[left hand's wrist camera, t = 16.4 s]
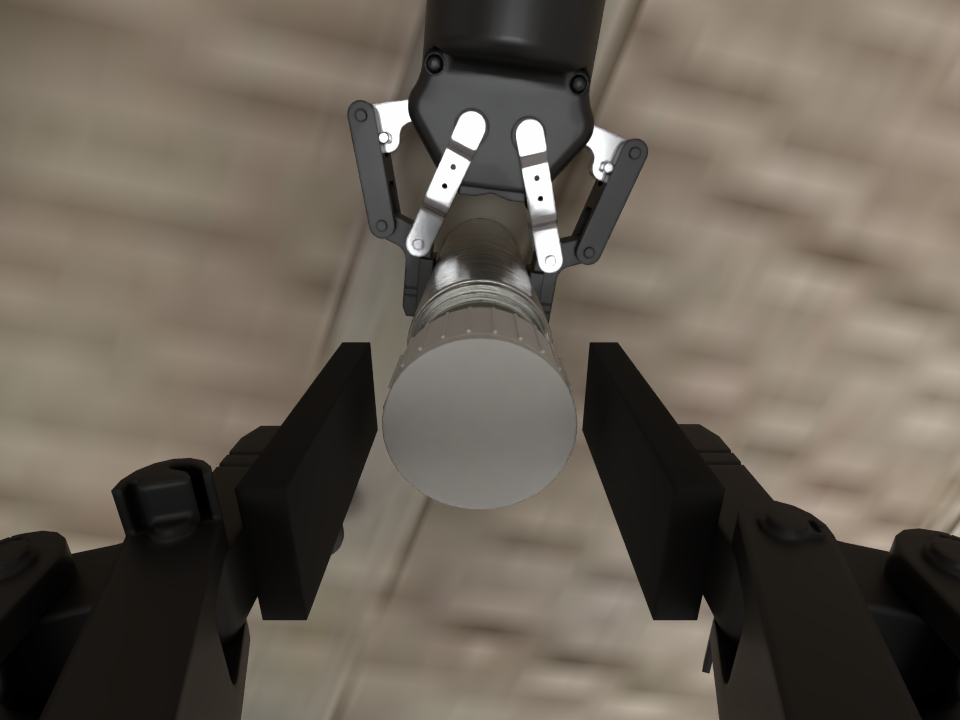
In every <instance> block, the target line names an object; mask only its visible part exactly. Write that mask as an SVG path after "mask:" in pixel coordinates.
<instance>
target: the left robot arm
mask: <svg viewBox="0 0 960 720" xmlns="http://www.w3.org/2000/svg"><path fill="white" fill-rule="evenodd" d="M377 430H378V428H377V416H376V405H375V393H374V382H373V370H372V358H371V347H370V342H342V344H341V345H340V346H339V348H338V349H337V350H336V352H335V353H334V355H333V356H332V357H331V359H330V360H329V361H328V363H327V364H326V365H325V367H324V368H323V369H322V371H321V372H320V374H319V375H318V376H317V378H316V379H315V380H314V382H313V383H312V384H311V386H310V387H309V388H308V390H307V391H306V393H305V394H304V395H303V397H302V398H301V399H300V401H299V402H298V403H297V405H296V406H295V407H294V409H293V410H292V412H291V413H290V414H289V416H288V417H287V418H286V420H285V421H284V422H283V424H282V425H281V426H260V427H258V428H257V429H255V430H254V431H252V432H250V433H249V434H247V435H245V436H244V437H242V438H241V439H240V440H239V441H238V443H237V444H236V445H235V446H234V447H233V449H232V450H231V451H230V454H229V455H227V456H226V457H225V458H224V459H223V460H222V462H221V463H220V466H219V467H216V469H215V470H214V471H213V472H212V469H211V466H210V465H208V464H207V463H206V462H205V461H203V460H198V459H192V458H182V459H171V460H167V461H162V462H158V463H154V464H152V465H149V466H147V467H144V468H142V469H139V470H137V471H135V472H133V473H132V474H130V475H128V476H127V477H125V478H124V479H122V480H121V481H120V482H119V483H118V484H117V485H116V486H115V487H114V488H113V489H112V490H111V492H112V495H113V498H114V501H115V504H116V507H117V510H118V513H119V516H120V519H121V522H122V525H123V528H124V531H125V535H126V537H125V540H124V542H123V543H120V544H117V545H112V546H107V547H103V548H98V549H93V550H88V551H83V552H79V553H74V554H71V552H70V549H69V547H68V544H67V541H66V539H65V538H64V537H63V536H62V535H60V534H59V533H57V532H49V531H37V532H31V533H24V534H19V535H15V536H12V537H11V538H9V537H8V538H5V539H3V540H0V720H241V714H242V705H243V697H244V688H245V680H246V671H247V663H248V654H249V646H250V634H249V628H248V623H247V619H246V618H247V616H248V614H249V612H250V610H251V608H252V606H253V604H254V602H255V600H256V598H257V596H258V600H259V604H260V609H261V614H262V618H263V620H307V618H308V615H309V613H310V610H311V607H312V605H313V602H314V599H315V597H316V594H317V591H318V588H319V586H320V583H321V580H322V578H323V575H324V572H325V570H326V567H327V564H328V562H329V559H330V556H331V554H332V551H333V548H334V546H335V543H336V540H337V538H338V535H339V532H340V530H341V527H342V524H343V522H344V519H345V516H346V513H347V511H348V508H349V505H350V503H351V500H352V497H353V495H354V492H355V489H356V487H357V484H358V481H359V479H360V476H361V473H362V471H363V468H364V465H365V463H366V460H367V457H368V455H369V452H370V449H371V447H372V444H373V441H374V438H375V436H376V433H377ZM582 430H583V433H584V436H585V438H586V441H587V444H588V447H589V449H590V452H591V455H592V457H593V460H594V463H595V465H596V468H597V471H598V473H599V476H600V479H601V481H602V484H603V487H604V489H605V492H606V495H607V497H608V500H609V503H610V505H611V508H612V511H613V513H614V516H615V519H616V522H617V524H618V527H619V530H620V532H621V535H622V538H623V540H624V543H625V546H626V548H627V551H628V554H629V556H630V559H631V562H632V564H633V567H634V570H635V572H636V575H637V578H638V580H639V583H640V586H641V588H642V591H643V594H644V597H645V599H646V602H647V605H648V607H649V610H650V613H651V615H652V618H653V620H697V618H698V614H699V609H700V604H701V600H702V595H703V596H704V598H705V599H706V601H707V603H708V605H709V607H710V609H711V611H712V613H713V615H714V619H713V623H712V628H711V632H710V636H709V641H708V645H707V649H706V654H705V658H704V663H703V670H702V672H706V673H710V669H711V665H712V662H713V670H714V678H715V687H716V695H717V704H718V712H719V720H960V538H959V537H957V536H954V535H952V536H951V535H949V534H947V533H943V532H939V531H932V530H926V529H919V528H918V529H908V530H903V531H902V532H900V533H899V534H897V535H896V536H895V539H894V541H893V544H892V547H891V549H890V552H888V551H883V550H878V549H873V548H868V547H864V546H859V545H854V544H849V543H845V542H841V541H837V540H836V539H835V536H834V535H833V534H832V532H831V531H830V530H829V528H828V527H827V526H826V525H825V524H824V523H823V522H822V521H820V520H819V519H817V518H816V517H815V516H813V515H812V514H810V513H808V512H806V511H804V510H802V509H800V508H797V507H795V506H793V505H789V504H785V503H781V502H778V501H774V500H773V499H772V498H771V497H770V496H769V494H768V493H767V492H766V491H765V490H764V489H763V487H762V486H761V485H760V484H759V483H758V482H757V480H756V479H755V478H754V477H753V476H752V475H751V473H750V472H749V471H748V470H747V469H746V467H745V466H744V465H741V462H740V460H739V459H738V458H737V457H736V456H735V455H734V453H731V450H730V449H729V448H728V446H727V445H726V444H725V443H724V442H723V440H722V439H721V438H720V437H719V436H718V435H716V434H714V433H713V432H711V431H710V430H708V429H706V428H705V427H703V426H701V425H700V424H677V422H676V421H675V420H674V418H673V417H672V416H671V414H670V413H669V411H668V410H667V409H666V407H665V406H664V405H663V403H662V402H661V401H660V399H659V398H658V397H657V395H656V394H655V393H654V391H653V390H652V388H651V387H650V386H649V384H648V383H647V382H646V380H645V379H644V378H643V376H642V375H641V374H640V372H639V371H638V369H637V368H636V367H635V365H634V364H633V363H632V361H631V360H630V359H629V357H628V356H627V355H626V353H625V352H624V350H623V349H622V348H621V346H620V345H619V344H618V342H590V347H589V358H588V370H587V382H586V393H585V405H584V417H583V428H582Z"/></svg>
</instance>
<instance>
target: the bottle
mask: <svg viewBox="0 0 960 720" xmlns="http://www.w3.org/2000/svg"><path fill="white" fill-rule="evenodd" d="M468 307H472V308H492V307H495V309H497V310H502V311H506V312H509V313H511V314H514V313H516V314H517V315H518V317H520V318H522V319H524V320H526V321H527V322H529V323H530V324H532V325H534V324H535V325H536V326H537V329H538V330H539V331H540V332H541V333H542V334H543V335H544V337H545V338H546V339H547V340H548V341H549V340H550V341H551V343H552V335H551V331H550V327H549V324H548V321H547V319H546V316H545V314H544V311H543V309H542V307H541V304H540V302H539V299H538V297H537V294H536V292H535V289H534V287H533V284H532V282H531V280H530V277H529V275H528V272H527V270H526V267H525V265H524V262H523V260H522V257H521V255H520V252H519V250H518V248H517V245H516V243H515V240H514V238H513V237H512V235H511V234H510V233H509V231H508V230H507V229H506V228H505V227H503V226H502V225H500V224H499V223H497V222H495V221H492V220H488V219H472V220H468V221H465V222H463V223H461V224H460V225H458V226H457V227H455V228H454V229H453V230H452V231H451V233H450V234H449V235H448V237H447V238H446V240H445V243H444V245H443V247H442V250H441V252H440V255H439V257H438V260H437V262H436V264H435V267H434V269H433V272H432V274H431V277H430V279H429V281H428V284H427V286H426V289H425V291H424V294H423V296H422V298H421V301H420V303H419V306H418V308H417V311H416V313H415V315H414V318H413V320H412V323H411V326H410V329H409V333H408V339H407V347H408V344H409V341H410V339H411V338H412V337H413V338H414V337H415V336H416V335H417V334H418V333H419V332H420V331H421V330H422V329H423V328H424V327H425V325H426V323H428V322H429V323H431V322H432V321H434V320H435V319H437V318H439V317H441V316H443V315H446V312H449V313H451V312H454V311H457V310H462V309H468Z"/></svg>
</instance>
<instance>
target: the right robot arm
mask: <svg viewBox="0 0 960 720" xmlns="http://www.w3.org/2000/svg"><path fill="white" fill-rule="evenodd" d="M604 5H605V0H427V6H426V20H425V34H424V48H423V62H422V69H421V73H420V76H419V78H418V81H417V83H416V85H415V86H414V88H413V89H412V91H411V93H410V95H409V99H408V100H401V101H394V102H386V103H379V104H370V103H368V102H366V101H363V100H357V101H355V102H353V103H352V104H351V105H350V106H349V109H348V121H349V126H350V131H351V136H352V141H353V146H354V151H355V156H356V161H357V166H358V172H359V177H360V182H361V187H362V192H363V197H364V202H365V207H366V212H367V217H368V223H369V227H370V230H371V232H372V234H373V235H374V236H376V237H378V238H382V239H384V238H385V239H387V240H389V241H391V242H393V243H395V244H397V245H398V246H400V247H401V248H402V250H403V251H404V253H405V256H406V267H405V281H404V296H403V308H404V311H405V314H406V316H414V315H415V313H416V311H417V308H418V306H419V303H420V301H421V298H422V296H423V294H424V291H425V289H426V286H427V284H428V281H429V279H430V277H431V274H432V272H433V269H434V267H435V264H436V258H437V252H433V247H434V241H435V239H436V237H437V234H438V232H439V230H440V228H441V226H442V224H443V222H444V220H445V217H446V215H447V213H448V211H449V209H450V207H451V205H452V203H453V201H454V198H455V196H456V194H457V192H459V194H464V195H472V196H477V195H484V194H495V195H497V196H500V197H502V198H504V199H507V200H510V201H518V202H523V204H524V210H525V215H526V219H527V223H528V228H529V233H530V239H531V244H532V249H533V257H532V263H531V264H527V268H526V270H527V272H528V275H529V277H530V280H531V282H532V284H533V287H534V289H535V292H536V294H537V297H538V299H539V302H540V304H541V307H542V309H543V311H544V314H545V316H546V319H547V321H548V323H549V318H550V312H551V307H552V301H553V296H554V290H555V285H556V279H557V276H558V274H559V273H560V272H561V271H562V270H563V269H564V268H566V267H569V266H573V265H577V264H582V263H583V264H585V265H591V264H594V263H595V262H597V261H598V260H599V258H600V256H601V254H602V252H603V250H604V248H605V246H606V243H607V241H608V239H609V237H610V235H611V233H612V231H613V229H614V226H615V224H616V222H617V220H618V218H619V216H620V214H621V211H622V209H623V207H624V205H625V203H626V201H627V199H628V197H629V194H630V192H631V190H632V188H633V186H634V184H635V182H636V180H637V177H638V175H639V173H640V171H641V169H642V167H643V165H644V162H645V160H646V158H647V155H648V148H647V145H646V144H645V142H644V141H642V140H640V139H625V138H623V137H620V136H618V135H616V134H614V133H611V132H609V131H607V130H604V129H602V128H600V127H597V126H595V125H594V117H593V113H592V110H591V106H590V100H589V90H590V83H591V77H592V72H593V66H594V61H595V55H596V50H597V44H598V38H599V33H600V27H601V22H602V16H603V11H604ZM411 123H412V124H413V125H414V127H415V129H416V131H417V133H418V135H419V136H420V138H421V140H422V142H423V144H424V146H425V147H426V149H427V151H428V153H429V155H430V157H431V158H432V160H433V162H434V164H435V166H436V168H437V171H436V173H435V175H434V177H433V180H432V182H431V184H430V186H429V189H428V191H427V193H426V195H425V198H424V200H423V203H422V206H421V208H420V210H419V213H418V215H417V217H416V219H415V221H414V220H412V219H410V218H408V217H406V216H404V215H402V214H401V212H400V206H399V200H398V194H397V189H396V183H395V177H394V171H393V165H392V160H391V154H390V153H391V152H395V151H397V150H398V149H399V148H400V146H401V144H402V133H403V130H404V128H405V127H406V126H407V125H409V124H411ZM584 147H586V148H587V149H588V151H589V153H590V163H589V173H590V175H591V176H592V177H593V178H594V179H596V181H595V184H594V186H593V188H592V191H591V193H590V195H589V197H588V200H587V202H586V204H585V206H584V209H583V211H582V213H581V215H580V218H579V220H578V222H577V225H576V227H575V229H574V231H573V234H572V236H568V237H564V238H560V239H559V233H558V227H557V213H556V207H555V201H554V195H553V189H552V183H551V182H552V181H553V180H554V179H555V178H556V177H557V176H558V175H559V174H560V173H561V172H562V171H563V169H564V168H565V167H566V166H567V165H568V164H569V163H570V162H571V161H572V160H573V159H574V158H575V157H576V155H577V154H578V153H579V152H580V151H581V150H582V149H583V148H584Z"/></svg>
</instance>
